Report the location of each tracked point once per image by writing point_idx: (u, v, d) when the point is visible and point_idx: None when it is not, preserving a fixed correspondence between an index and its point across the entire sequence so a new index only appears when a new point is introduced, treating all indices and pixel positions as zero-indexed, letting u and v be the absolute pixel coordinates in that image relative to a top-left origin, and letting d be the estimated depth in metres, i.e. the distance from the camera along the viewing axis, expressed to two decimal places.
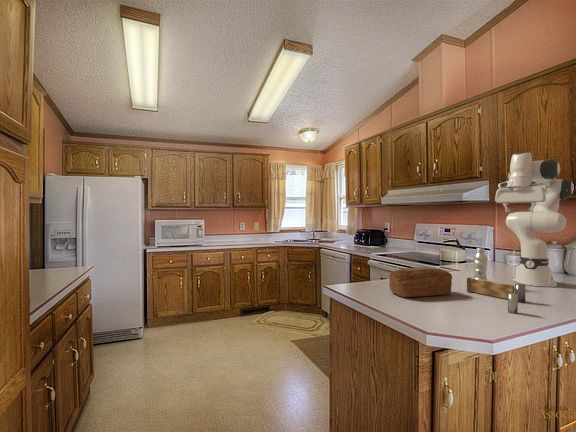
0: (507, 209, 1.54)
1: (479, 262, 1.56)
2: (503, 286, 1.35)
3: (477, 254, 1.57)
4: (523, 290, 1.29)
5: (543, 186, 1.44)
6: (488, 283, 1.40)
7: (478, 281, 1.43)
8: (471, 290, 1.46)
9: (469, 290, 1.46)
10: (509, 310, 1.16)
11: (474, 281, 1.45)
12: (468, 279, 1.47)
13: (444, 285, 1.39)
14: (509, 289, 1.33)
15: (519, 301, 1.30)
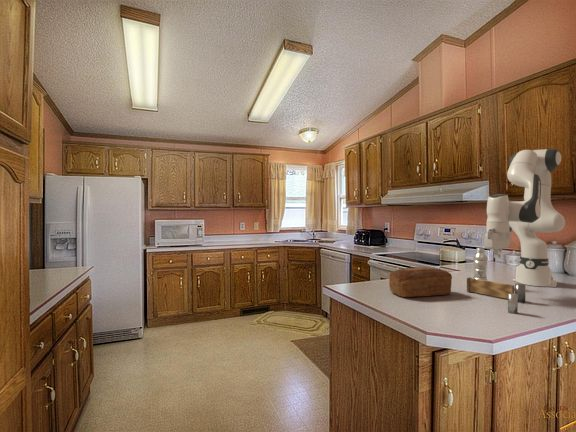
0: None
1: (479, 262, 1.56)
2: (503, 286, 1.35)
3: (477, 254, 1.57)
4: (523, 290, 1.29)
5: None
6: (488, 283, 1.40)
7: (478, 281, 1.43)
8: (471, 290, 1.46)
9: (469, 290, 1.46)
10: (509, 310, 1.16)
11: (474, 281, 1.45)
12: (468, 279, 1.47)
13: (444, 285, 1.39)
14: (509, 289, 1.33)
15: (519, 301, 1.30)
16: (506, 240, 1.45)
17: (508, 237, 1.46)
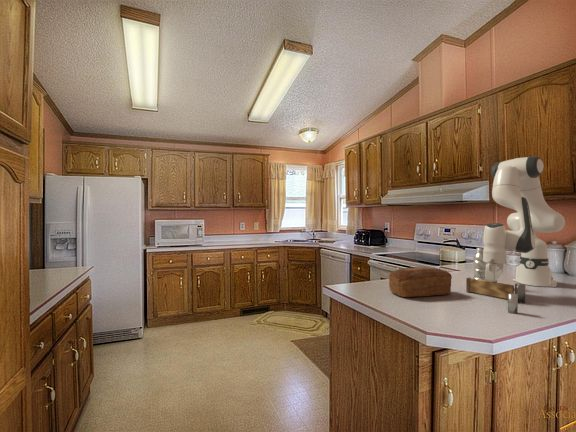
0: None
1: (479, 262, 1.56)
2: (503, 286, 1.35)
3: (477, 254, 1.57)
4: (523, 290, 1.29)
5: (489, 264, 1.35)
6: (488, 283, 1.40)
7: (478, 281, 1.43)
8: (471, 290, 1.45)
9: (469, 290, 1.46)
10: (509, 310, 1.16)
11: (474, 281, 1.44)
12: (468, 279, 1.46)
13: (444, 285, 1.39)
14: (509, 289, 1.33)
15: (519, 301, 1.30)
16: (500, 269, 1.44)
17: (501, 266, 1.46)
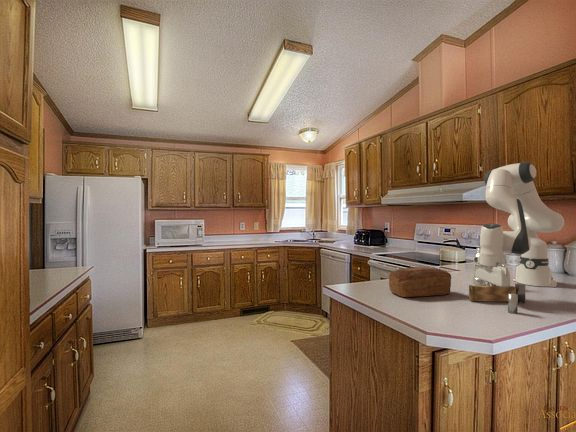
0: None
1: None
2: (507, 288, 1.30)
3: (477, 254, 1.57)
4: (523, 290, 1.29)
5: (504, 269, 1.25)
6: (493, 288, 1.30)
7: (484, 288, 1.30)
8: (476, 299, 1.30)
9: (474, 299, 1.30)
10: (509, 310, 1.16)
11: (479, 288, 1.30)
12: (474, 287, 1.30)
13: (444, 285, 1.40)
14: (513, 291, 1.30)
15: (519, 301, 1.30)
16: None
17: None
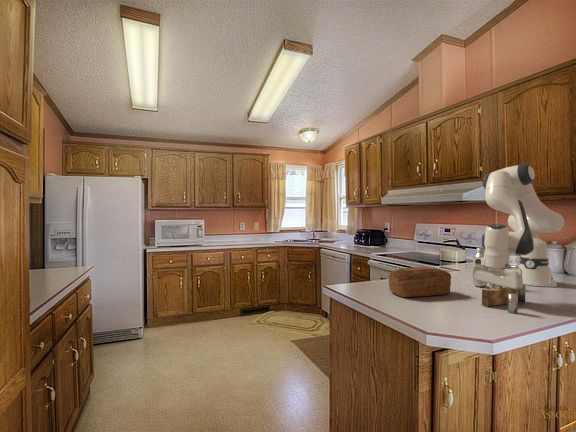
0: None
1: None
2: (513, 290, 1.28)
3: (477, 254, 1.57)
4: (523, 290, 1.29)
5: (518, 271, 1.21)
6: (503, 291, 1.26)
7: (496, 291, 1.25)
8: (490, 304, 1.24)
9: (489, 304, 1.23)
10: (509, 310, 1.16)
11: (493, 292, 1.24)
12: (488, 292, 1.23)
13: (443, 285, 1.40)
14: (516, 292, 1.29)
15: (519, 301, 1.30)
16: None
17: None
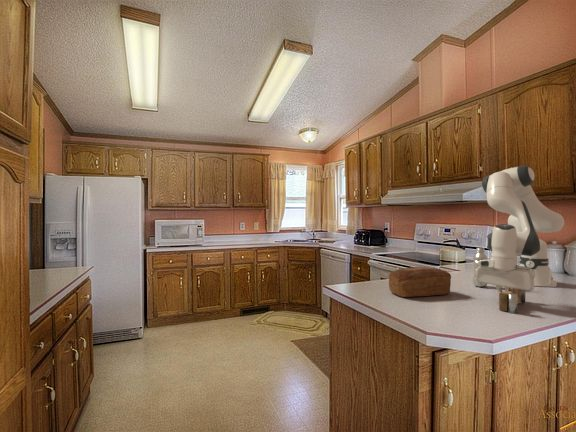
0: None
1: None
2: (518, 291, 1.27)
3: (477, 254, 1.57)
4: (523, 290, 1.29)
5: (531, 272, 1.19)
6: (513, 293, 1.23)
7: None
8: (507, 308, 1.18)
9: (507, 309, 1.18)
10: (509, 310, 1.16)
11: None
12: (507, 295, 1.17)
13: (443, 285, 1.40)
14: (520, 292, 1.28)
15: None
16: None
17: None
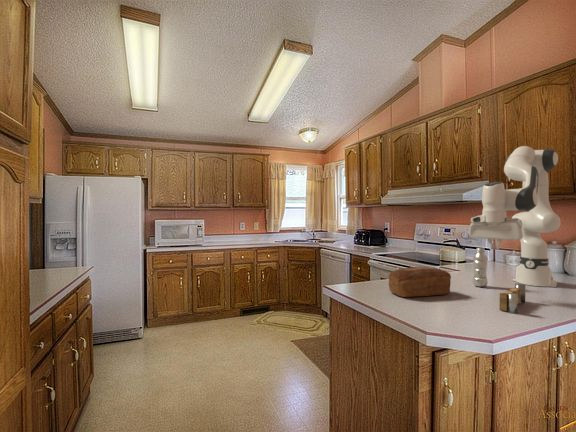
0: (492, 246, 1.37)
1: (479, 262, 1.56)
2: (518, 291, 1.27)
3: (477, 254, 1.57)
4: (523, 290, 1.29)
5: (519, 222, 1.29)
6: (514, 293, 1.23)
7: None
8: (507, 308, 1.18)
9: (507, 309, 1.18)
10: (509, 310, 1.16)
11: None
12: (507, 295, 1.17)
13: (443, 285, 1.40)
14: (520, 292, 1.28)
15: None
16: None
17: None
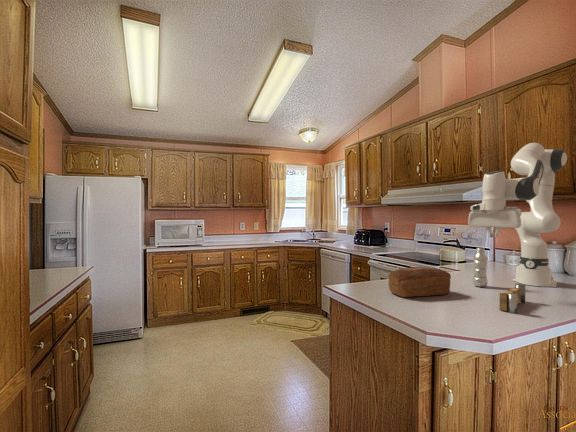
0: (491, 234, 1.38)
1: (479, 262, 1.56)
2: (518, 291, 1.27)
3: (477, 254, 1.57)
4: (523, 290, 1.29)
5: (517, 210, 1.30)
6: (514, 293, 1.23)
7: None
8: (507, 308, 1.18)
9: (507, 309, 1.18)
10: (509, 310, 1.16)
11: None
12: (507, 295, 1.17)
13: (443, 284, 1.40)
14: (520, 292, 1.28)
15: None
16: None
17: None
